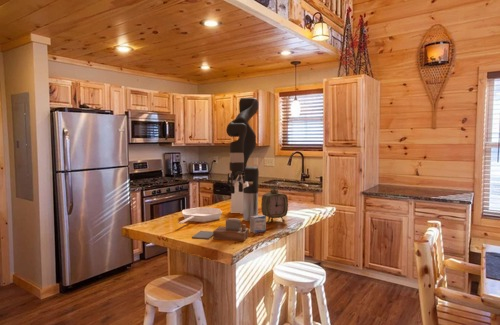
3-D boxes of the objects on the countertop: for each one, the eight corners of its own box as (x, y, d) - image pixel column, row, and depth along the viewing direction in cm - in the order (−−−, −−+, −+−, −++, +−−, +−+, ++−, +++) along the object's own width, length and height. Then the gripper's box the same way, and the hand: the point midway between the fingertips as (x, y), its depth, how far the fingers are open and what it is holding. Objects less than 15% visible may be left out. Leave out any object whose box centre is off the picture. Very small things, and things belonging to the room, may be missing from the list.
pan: (228, 215, 222) (228, 208, 222) (202, 231, 183) (202, 223, 183) (191, 212, 230) (191, 206, 230) (158, 227, 191) (158, 219, 191)
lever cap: (227, 228, 173) (227, 217, 173) (240, 229, 171) (240, 218, 171) (225, 230, 169) (225, 218, 169) (239, 231, 168) (239, 219, 168)
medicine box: (254, 233, 178) (254, 217, 177) (249, 231, 182) (249, 216, 181) (266, 231, 183) (266, 215, 182) (261, 229, 186) (261, 214, 186)
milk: (249, 210, 238) (249, 174, 236) (248, 214, 226) (248, 175, 225) (233, 210, 239) (233, 174, 237) (230, 213, 228) (230, 175, 226)
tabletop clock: (267, 224, 197) (267, 182, 196) (259, 221, 205) (260, 181, 204) (287, 222, 204) (288, 181, 202) (279, 219, 212) (280, 179, 210)
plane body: (219, 233, 178) (219, 220, 177) (248, 235, 174) (248, 222, 174) (213, 239, 168) (213, 225, 167) (244, 241, 164) (244, 227, 164)
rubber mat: (200, 231, 181) (200, 230, 181) (216, 232, 179) (216, 231, 179) (191, 238, 169) (191, 236, 169) (208, 239, 167) (208, 238, 167)
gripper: (237, 161, 182) (237, 191, 183) (223, 161, 170) (223, 193, 170) (249, 161, 179) (249, 191, 179) (236, 161, 166) (235, 194, 167)
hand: (236, 192), depth 175 cm, fingers open, 8 cm apart
